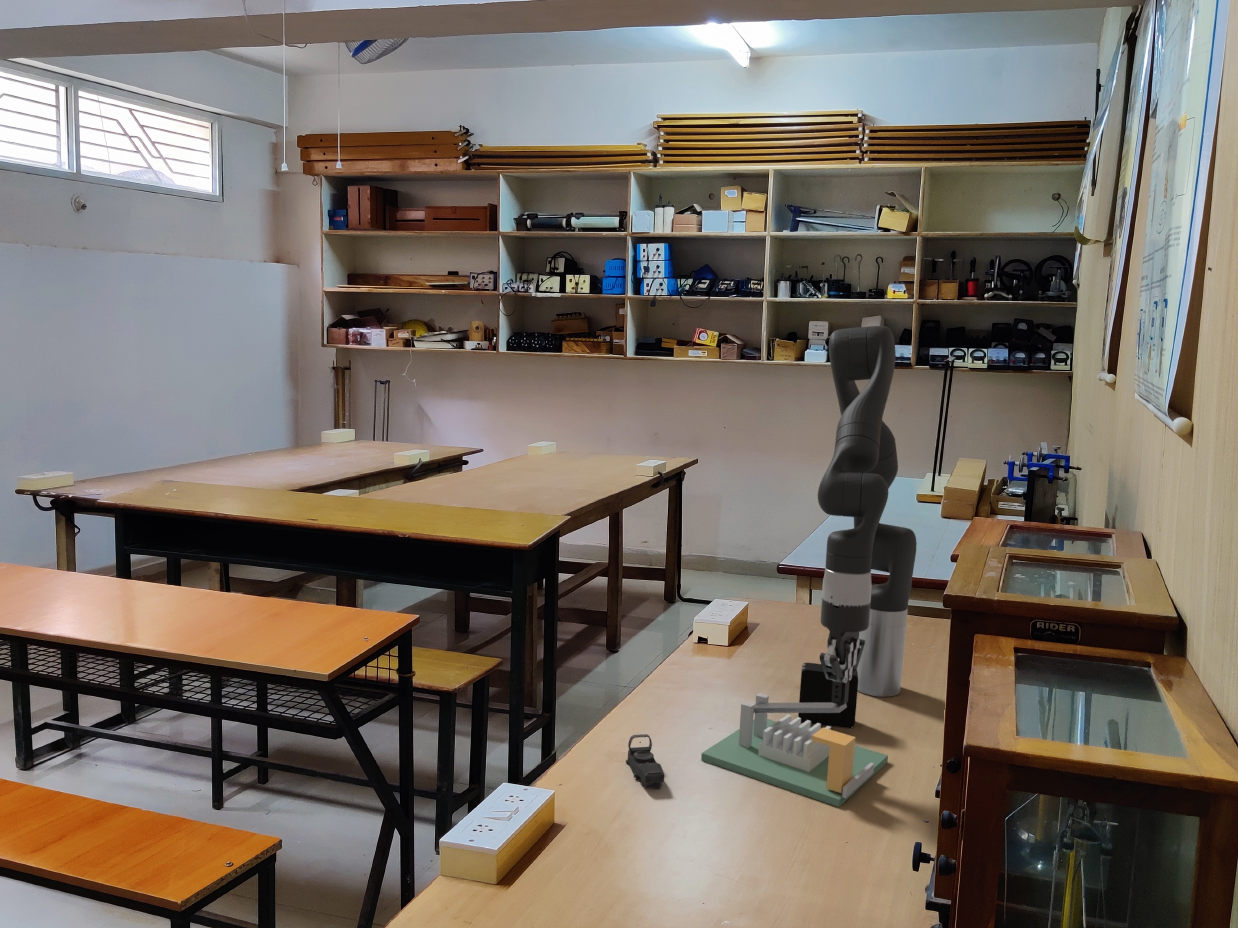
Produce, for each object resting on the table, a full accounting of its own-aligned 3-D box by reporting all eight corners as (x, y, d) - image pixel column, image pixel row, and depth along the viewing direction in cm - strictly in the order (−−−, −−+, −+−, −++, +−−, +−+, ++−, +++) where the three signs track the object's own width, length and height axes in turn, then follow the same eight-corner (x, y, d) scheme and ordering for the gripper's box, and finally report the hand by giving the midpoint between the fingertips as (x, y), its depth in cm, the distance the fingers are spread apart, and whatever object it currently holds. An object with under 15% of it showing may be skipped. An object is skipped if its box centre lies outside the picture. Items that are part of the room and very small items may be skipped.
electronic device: (854, 729, 177) (858, 675, 175) (797, 722, 178) (801, 669, 177) (853, 719, 181) (858, 667, 179) (798, 713, 183) (802, 661, 181)
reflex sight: (640, 792, 150) (642, 761, 149) (625, 763, 159) (626, 733, 159) (665, 791, 150) (667, 760, 150) (648, 761, 160) (650, 732, 160)
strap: (757, 707, 168) (756, 701, 168) (847, 707, 158) (846, 701, 158) (747, 713, 165) (746, 707, 165) (838, 713, 155) (837, 707, 155)
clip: (819, 773, 155) (822, 727, 154) (851, 783, 152) (855, 736, 151) (808, 782, 152) (811, 735, 151) (841, 793, 149) (845, 745, 148)
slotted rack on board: (758, 722, 177) (761, 677, 176) (890, 762, 163) (895, 714, 162) (701, 759, 161) (704, 711, 160) (842, 808, 147) (847, 755, 146)
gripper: (840, 585, 163) (834, 686, 165) (806, 601, 153) (799, 708, 155) (884, 593, 159) (877, 697, 161) (852, 609, 148) (844, 720, 150)
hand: (839, 702), depth 158 cm, fingers closed
